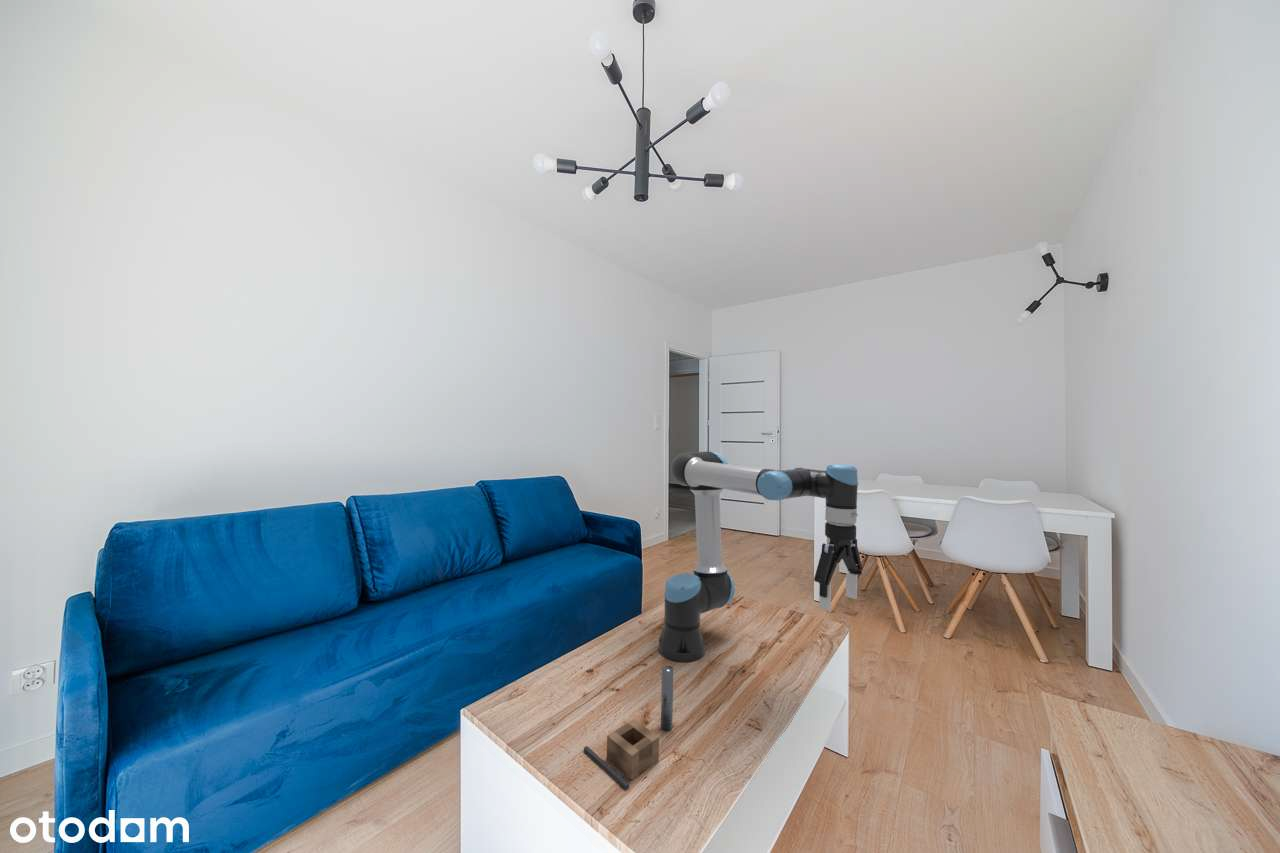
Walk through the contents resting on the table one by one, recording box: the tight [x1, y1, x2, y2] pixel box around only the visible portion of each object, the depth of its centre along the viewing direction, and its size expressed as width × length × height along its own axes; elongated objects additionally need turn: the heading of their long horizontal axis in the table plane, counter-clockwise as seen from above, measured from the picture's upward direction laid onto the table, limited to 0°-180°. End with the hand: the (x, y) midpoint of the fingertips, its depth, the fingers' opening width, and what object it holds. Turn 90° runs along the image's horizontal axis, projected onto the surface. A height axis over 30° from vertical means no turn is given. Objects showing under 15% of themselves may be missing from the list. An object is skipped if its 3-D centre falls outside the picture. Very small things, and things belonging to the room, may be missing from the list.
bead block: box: [606, 718, 660, 781], centre depth 94 cm, size 8×8×5 cm
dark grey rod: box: [583, 745, 630, 791], centre depth 91 cm, size 14×1×1 cm, turn 44°
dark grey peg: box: [660, 665, 674, 732], centre depth 104 cm, size 3×3×14 cm
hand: (838, 603), depth 115 cm, fingers open, 13 cm apart
